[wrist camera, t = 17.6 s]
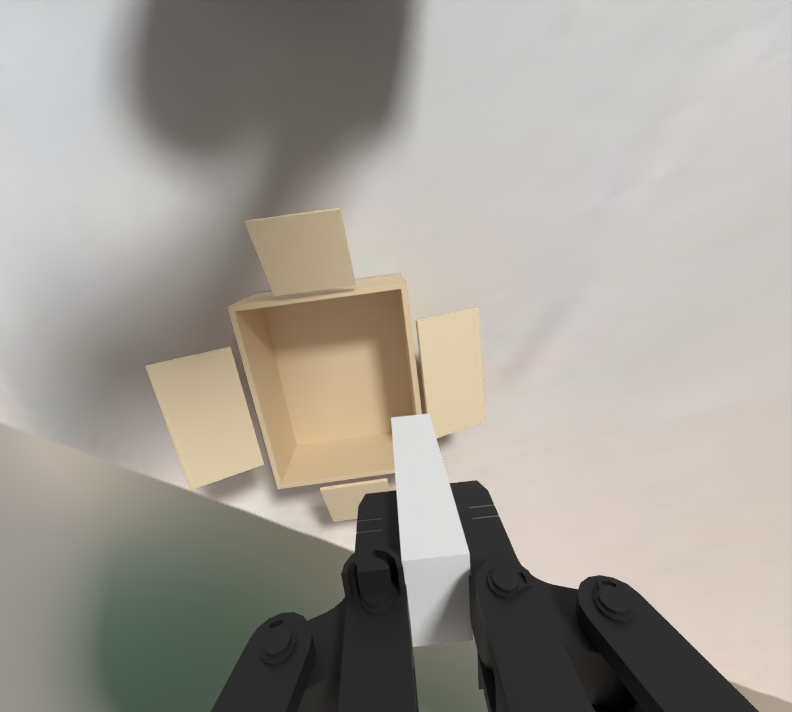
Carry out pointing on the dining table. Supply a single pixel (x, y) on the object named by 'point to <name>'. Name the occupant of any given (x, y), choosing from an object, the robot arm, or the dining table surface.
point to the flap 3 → (350, 497)
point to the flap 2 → (303, 251)
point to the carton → (329, 377)
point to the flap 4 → (452, 370)
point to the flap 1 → (206, 415)
